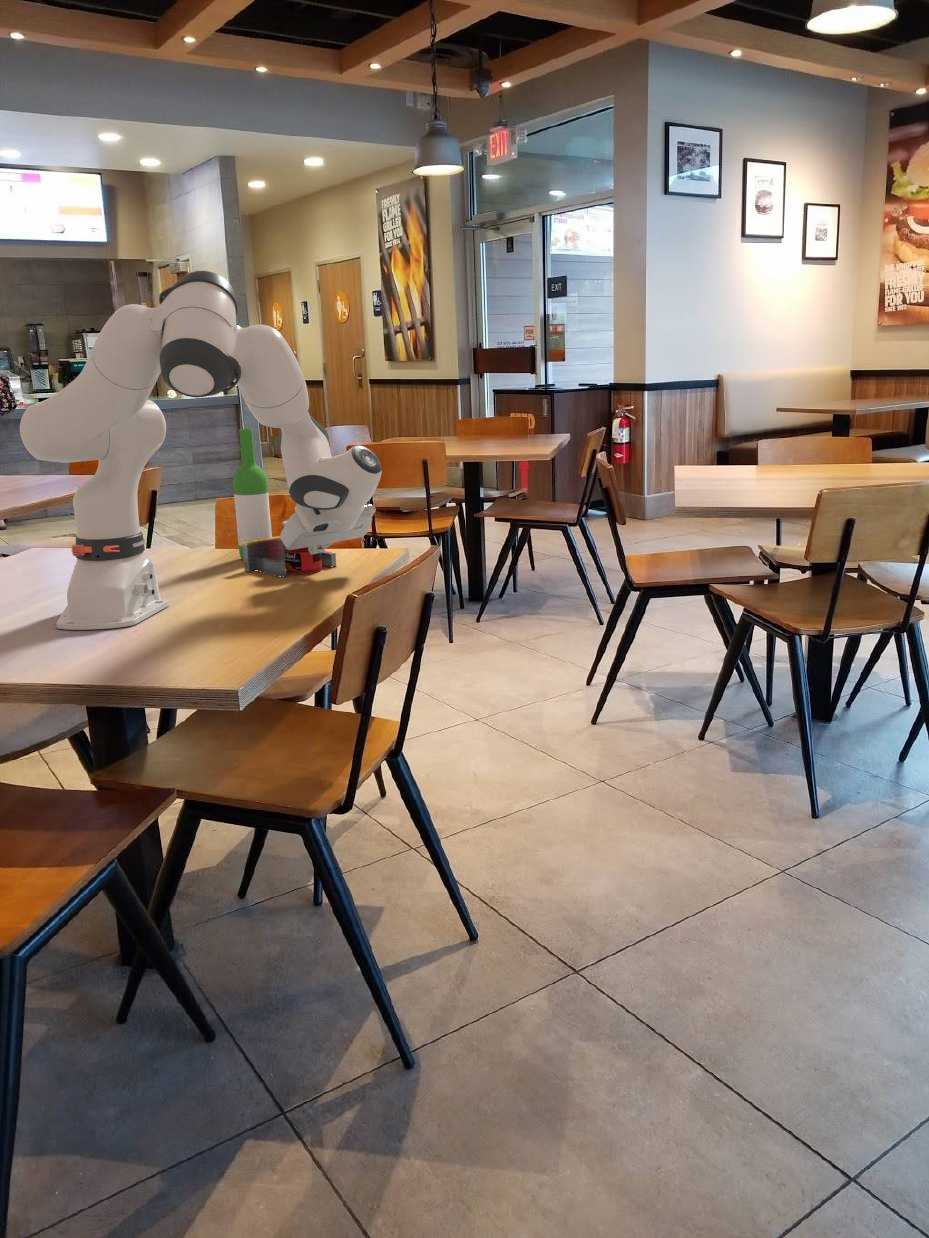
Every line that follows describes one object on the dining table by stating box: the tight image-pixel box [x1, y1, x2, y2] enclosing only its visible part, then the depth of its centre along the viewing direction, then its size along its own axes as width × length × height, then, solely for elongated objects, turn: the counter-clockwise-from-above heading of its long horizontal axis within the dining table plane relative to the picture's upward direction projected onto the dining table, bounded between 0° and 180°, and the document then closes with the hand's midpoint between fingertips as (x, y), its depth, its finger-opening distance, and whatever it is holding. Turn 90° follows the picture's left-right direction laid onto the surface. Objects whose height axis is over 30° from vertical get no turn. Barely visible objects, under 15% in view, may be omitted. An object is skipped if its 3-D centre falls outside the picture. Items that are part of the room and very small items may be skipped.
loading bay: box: [242, 535, 337, 578], centre depth 212 cm, size 12×18×6 cm, turn 133°
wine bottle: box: [232, 428, 273, 561], centre depth 220 cm, size 8×8×30 cm
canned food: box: [281, 519, 323, 575], centre depth 208 cm, size 8×8×11 cm
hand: (315, 551), depth 205 cm, fingers closed, pressing on canned food
